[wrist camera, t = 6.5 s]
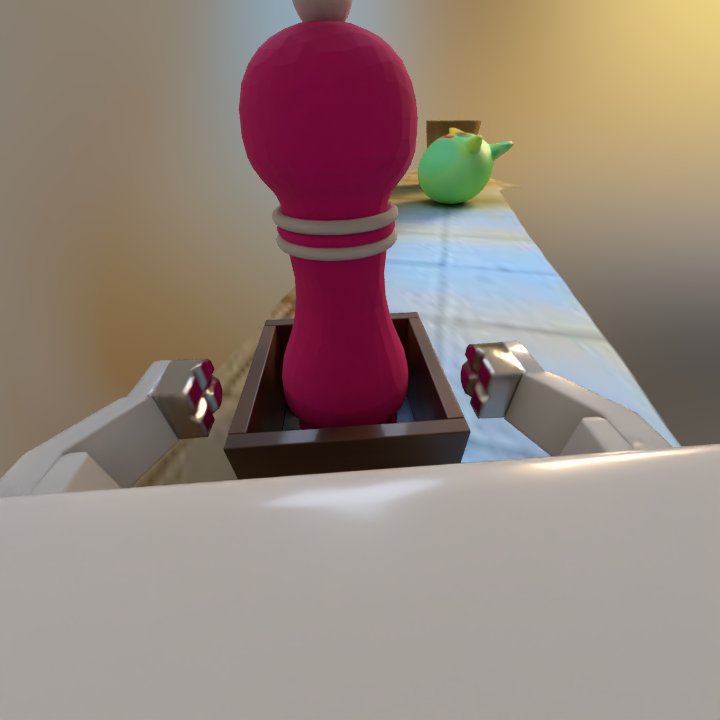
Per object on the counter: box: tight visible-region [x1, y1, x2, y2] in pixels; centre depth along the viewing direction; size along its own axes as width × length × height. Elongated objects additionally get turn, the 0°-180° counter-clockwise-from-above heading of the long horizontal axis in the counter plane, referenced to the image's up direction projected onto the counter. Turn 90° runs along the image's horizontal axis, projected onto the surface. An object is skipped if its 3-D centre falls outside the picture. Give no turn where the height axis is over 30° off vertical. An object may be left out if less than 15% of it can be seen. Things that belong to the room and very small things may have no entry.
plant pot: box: [427, 120, 481, 148], centre depth 90 cm, size 15×15×16 cm
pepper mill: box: [239, 0, 418, 430], centre depth 14 cm, size 7×7×20 cm
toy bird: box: [418, 128, 513, 204], centre depth 70 cm, size 18×17×15 cm
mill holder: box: [224, 312, 470, 480], centre depth 19 cm, size 11×11×6 cm
